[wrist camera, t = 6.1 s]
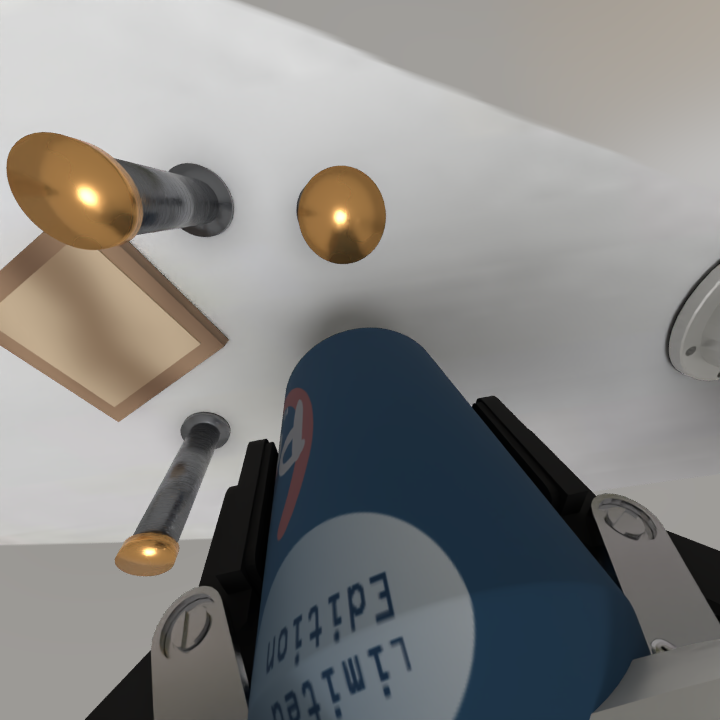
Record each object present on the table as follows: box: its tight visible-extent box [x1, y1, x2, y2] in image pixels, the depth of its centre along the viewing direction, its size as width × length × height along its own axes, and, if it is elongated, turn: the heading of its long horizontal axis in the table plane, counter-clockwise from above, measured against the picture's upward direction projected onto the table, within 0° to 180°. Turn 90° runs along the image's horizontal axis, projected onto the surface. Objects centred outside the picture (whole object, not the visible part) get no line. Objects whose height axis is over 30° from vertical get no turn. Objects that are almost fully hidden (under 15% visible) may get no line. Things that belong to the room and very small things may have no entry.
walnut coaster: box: [0, 232, 228, 422], centre depth 16 cm, size 9×9×1 cm
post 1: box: [6, 132, 234, 250], centre depth 11 cm, size 3×3×9 cm
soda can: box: [248, 328, 651, 720], centre depth 9 cm, size 7×7×12 cm
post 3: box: [297, 166, 386, 264], centre depth 12 cm, size 3×3×9 cm
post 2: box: [115, 412, 230, 576], centre depth 17 cm, size 3×3×9 cm
